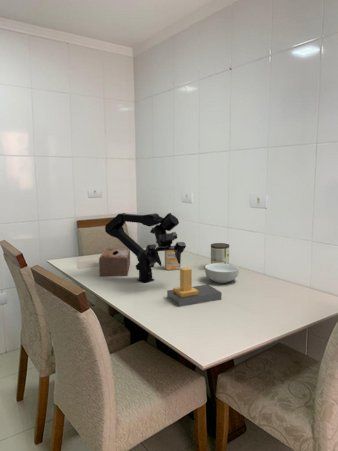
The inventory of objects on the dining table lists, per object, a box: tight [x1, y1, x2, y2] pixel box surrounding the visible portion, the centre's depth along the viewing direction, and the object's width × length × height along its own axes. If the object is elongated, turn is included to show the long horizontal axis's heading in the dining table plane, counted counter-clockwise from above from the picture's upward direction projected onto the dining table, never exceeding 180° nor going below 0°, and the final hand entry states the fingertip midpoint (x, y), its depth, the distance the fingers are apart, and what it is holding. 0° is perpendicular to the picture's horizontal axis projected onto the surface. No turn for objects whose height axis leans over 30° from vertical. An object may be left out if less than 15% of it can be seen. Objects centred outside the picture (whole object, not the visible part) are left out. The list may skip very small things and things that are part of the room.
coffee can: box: [210, 242, 230, 264], centre depth 196 cm, size 10×10×14 cm
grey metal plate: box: [166, 284, 222, 307], centre depth 152 cm, size 12×20×3 cm, turn 114°
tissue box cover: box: [98, 247, 131, 278], centre depth 198 cm, size 26×14×10 cm, turn 3°
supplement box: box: [164, 250, 182, 271], centre depth 198 cm, size 8×5×13 cm, turn 105°
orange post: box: [172, 267, 199, 297], centre depth 150 cm, size 8×8×13 cm
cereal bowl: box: [204, 263, 240, 284], centre depth 177 cm, size 17×17×7 cm
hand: (170, 264), depth 160 cm, fingers open, 9 cm apart
